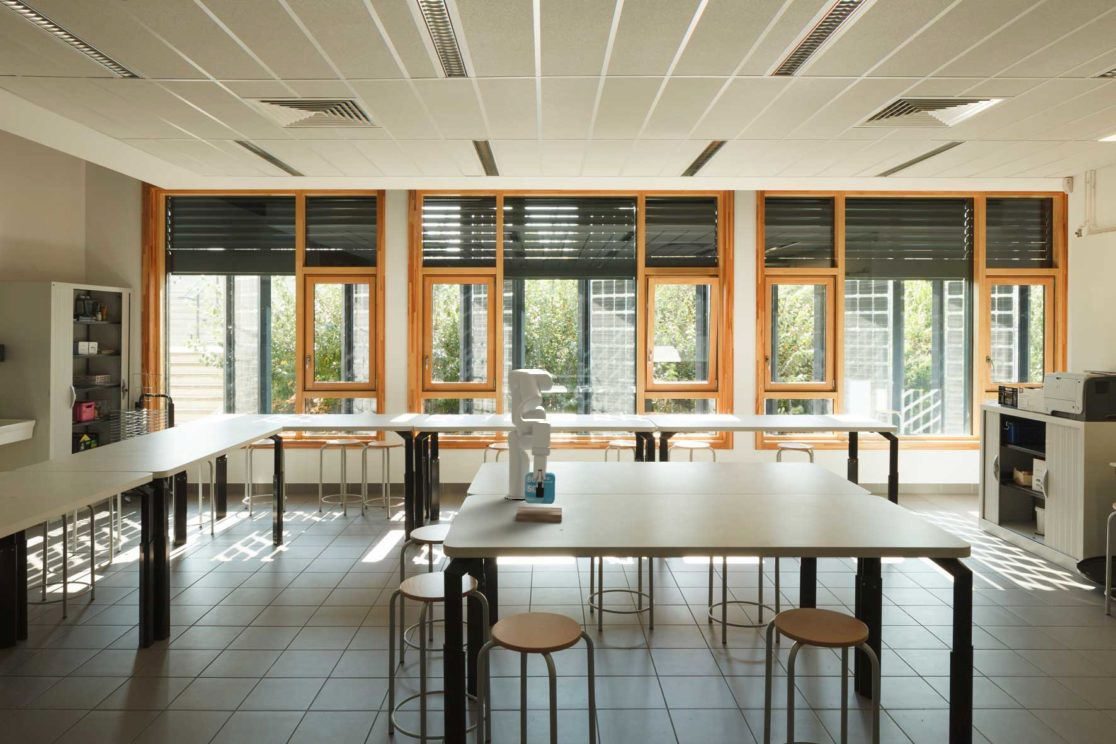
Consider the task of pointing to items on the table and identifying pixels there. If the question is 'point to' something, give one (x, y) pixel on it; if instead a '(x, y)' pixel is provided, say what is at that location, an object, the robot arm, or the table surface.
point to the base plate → (539, 514)
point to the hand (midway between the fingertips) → (539, 495)
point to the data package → (547, 485)
